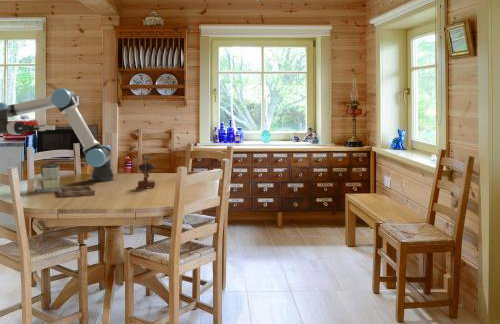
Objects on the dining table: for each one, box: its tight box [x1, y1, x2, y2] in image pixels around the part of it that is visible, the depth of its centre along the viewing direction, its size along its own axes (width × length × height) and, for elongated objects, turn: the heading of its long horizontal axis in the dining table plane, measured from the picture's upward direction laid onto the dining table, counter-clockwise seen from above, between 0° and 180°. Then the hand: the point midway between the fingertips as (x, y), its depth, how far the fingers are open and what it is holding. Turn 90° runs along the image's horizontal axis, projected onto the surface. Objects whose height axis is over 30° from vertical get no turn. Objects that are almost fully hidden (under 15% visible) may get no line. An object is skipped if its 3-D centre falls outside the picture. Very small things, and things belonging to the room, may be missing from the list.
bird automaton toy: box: [137, 154, 156, 189], centre depth 312 cm, size 15×11×20 cm
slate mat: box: [35, 185, 66, 194], centre depth 300 cm, size 16×16×1 cm
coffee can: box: [40, 163, 61, 190], centre depth 299 cm, size 10×10×14 cm
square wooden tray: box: [57, 185, 96, 198], centre depth 289 cm, size 18×18×2 cm
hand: (49, 128), depth 318 cm, fingers open, 13 cm apart
